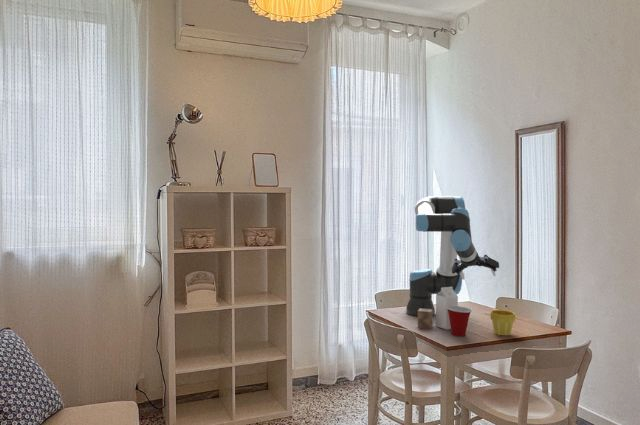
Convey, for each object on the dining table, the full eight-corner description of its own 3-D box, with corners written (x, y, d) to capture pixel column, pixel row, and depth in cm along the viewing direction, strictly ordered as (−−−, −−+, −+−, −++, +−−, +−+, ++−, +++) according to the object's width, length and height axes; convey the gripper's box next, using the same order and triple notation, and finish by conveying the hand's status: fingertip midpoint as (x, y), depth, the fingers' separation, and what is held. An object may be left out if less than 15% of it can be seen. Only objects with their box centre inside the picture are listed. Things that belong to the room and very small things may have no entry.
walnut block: (417, 327, 220) (417, 310, 220) (419, 324, 225) (419, 308, 225) (430, 329, 217) (430, 311, 217) (432, 326, 223) (432, 309, 223)
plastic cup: (473, 338, 202) (473, 310, 201) (447, 337, 203) (448, 309, 203) (470, 332, 212) (470, 305, 212) (445, 330, 214) (445, 304, 214)
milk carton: (435, 326, 222) (435, 286, 222) (446, 324, 225) (446, 285, 225) (446, 330, 216) (446, 288, 215) (457, 328, 219) (458, 287, 219)
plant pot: (519, 337, 204) (519, 314, 204) (496, 337, 204) (496, 315, 203) (508, 330, 214) (508, 309, 214) (486, 331, 214) (486, 309, 214)
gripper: (438, 266, 200) (451, 285, 216) (500, 258, 189) (508, 279, 205) (438, 250, 204) (450, 271, 220) (497, 242, 193) (506, 263, 209)
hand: (478, 275), depth 212 cm, fingers open, 13 cm apart
